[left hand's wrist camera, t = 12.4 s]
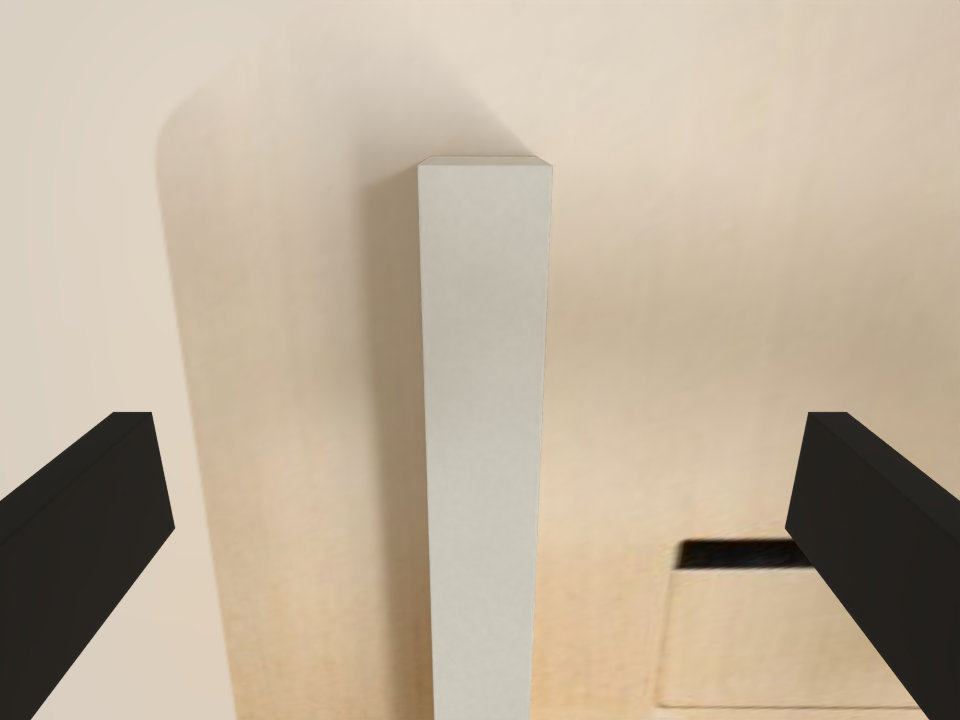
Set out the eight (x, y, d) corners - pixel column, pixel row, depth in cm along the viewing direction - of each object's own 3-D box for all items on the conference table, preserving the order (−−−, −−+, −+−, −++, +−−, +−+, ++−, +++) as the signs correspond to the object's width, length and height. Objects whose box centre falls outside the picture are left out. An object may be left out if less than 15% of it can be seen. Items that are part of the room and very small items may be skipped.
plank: (429, 156, 34) (416, 164, 27) (537, 156, 34) (553, 164, 27) (445, 819, 53) (440, 927, 46) (515, 819, 53) (521, 927, 46)
